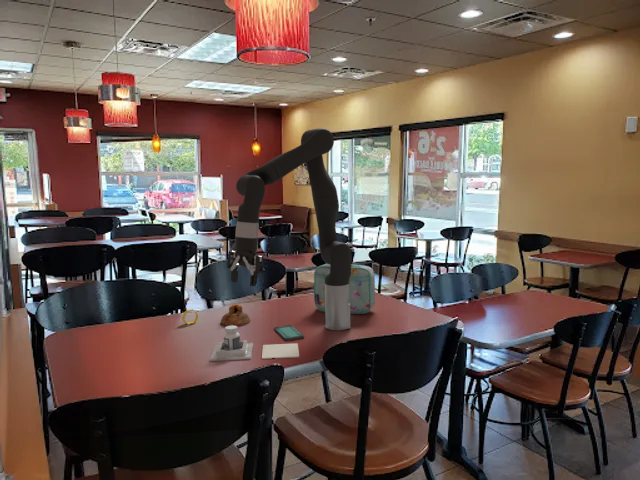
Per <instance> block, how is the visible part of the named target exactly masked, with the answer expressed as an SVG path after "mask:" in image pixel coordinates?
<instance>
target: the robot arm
mask: <svg viewBox="0 0 640 480" xmlns="http://www.w3.org/2000/svg"><path fill="white" fill-rule="evenodd" d="M333 135H334V134H333V133H332V131H330V130H329V129H327V128H324V127H323V128H322V127H321V128H320V127H319V128H318V127H317V128H312V129H307V130H306V131H304V132H303V134H302V135H301V139H300V145H299V146H296V147H295V148H293V149H290V150H288V151H285V152H284V153H281V154H279V155H277V156H276V157H273V158H272V159H270V160H269V161H267V162H265V163H264V164H262V166H260V167H258V168H256V169H252V170H251V171H248V172H247V173H245V174H243V175H242V176H241V177H239V178H238V180H237V181H236V183H235V184H236V185H235V187H236V191H237V194H239V195H241V196H243V197H244V198H243V203H241V204H240V205H239V206H238V209H237V217H236V218H237V220H236V226H235V236H234V250H228V253H227V263H226V268H227V269H229V270H230V273H231V274H230V279H231V283H237V282H238V278H239V271H238V270H239V269H240V267H246V268H247V270H248V271H249V272H250V273H249V274H250V280H249V286H250V287H256V286H257V284H258V276H259V275H262V274H263V273H264V255H257V252H256V251H257V250H258V249H259V248H258V245H259V232H260V231H259V230H260V227H259V223H260V222H259V219H260V210H261V207H262V204H263V200H264V198H265V194H266V193H265V191H266V186H268V185H272V184H273V185H274V184H275V183H277V182H278V181H280V180H281V179H283V178H284V177H285V176H287V175H289V173H291V172H293V171H295V170H296V169H298V168H299V167H300V166H302V165H306V170H307V173H308V180H309V185H310V188H311V195H312V201H313V207H314V212H315V217H316V218H315V219H316V222H317V224H316V225H317V229H318V236H319V238H318V239H319V252H320V256H321V259H322V261H323V262H324V263H325V264H330V274H329V275H326V276H325V312H324V314H325V315H324V316H325V318H324V319H325V328H326V329H327V330H331V331H344V330H348V329H349V330H350V329H351V314H350V303H349V278H350V276H351V264H352V250H351V248H350V246H349V245H348V244H347V243H346V242H342V241H339V240H338V236H337V229H336V228H337V227H336V224H337V223H336V222H337V219H338V215H339V209H340V203H339V198H338V191H337V187H336V185H335V183H334V180H332V178H331V176H330V175H329V173H328V171H327V170H326V166H325V163H324V157H323V155H325V154H327V153H329V152H330V151H331V150H332V148H333V147H334V143H335V139H334V136H333Z"/></svg>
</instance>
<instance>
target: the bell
mask: <svg viewBox="0 0 640 480" xmlns="http://www.w3.org/2000/svg"><path fill="white" fill-rule="evenodd" d="M250 321H251V318H250V316H249V315H248V314H247V313H245V312H244V311H243V306H242V304H239V303H238V304H236V303H235V304H231V305H230V306H229V307H228V312H227V313H225V314H224V315H223V316H222V317H221V319H220V324H221V325H222V326H224V327H227V326H232V325H233V326H237V327H242V326H245V325H248V324H249V323H250Z"/></svg>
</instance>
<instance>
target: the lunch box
mask: <svg viewBox="0 0 640 480" xmlns="http://www.w3.org/2000/svg"><path fill="white" fill-rule="evenodd" d="M329 274H330V264H327V263H325V264H322V265H319V266H317V267H316V268H315V269H314V273H313V284H312V287H311V290H313V299H314V305H315V308H316V309H317V310H318V311H320V312H324V313H325V276H326V275H329ZM375 280H376V279H375V271H374V270H373V268H372V267H370V266H369V265H364V264H352V263H351V276H350V278H349V303H350V315H360V314H364V315H365V314H367V313H369V312H370V311H371V310H372V309H373V308H374V306H375V304H376V303H375V302H376V281H375Z"/></svg>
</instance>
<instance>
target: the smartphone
mask: <svg viewBox="0 0 640 480" xmlns="http://www.w3.org/2000/svg"><path fill="white" fill-rule="evenodd" d="M273 330H274V331H275V332H276V333H277V334H278V336H279V337H281V339H282V340H284V341H285V342H290V341H295V340H296V341H297V340H304V339H305V335H303V334H302V333H301V332H300V331H299V330H298V329H297V328H296V327H295V326H293V325H292V324H290V325H281V326H275V327H273Z"/></svg>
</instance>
